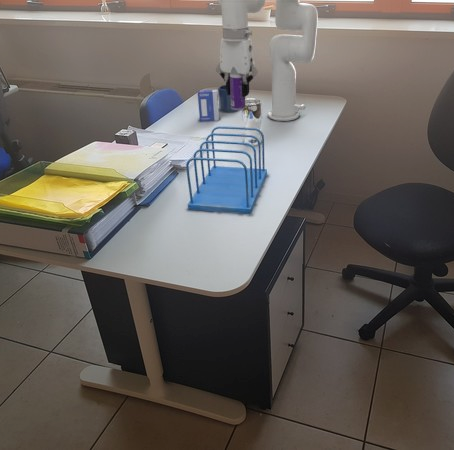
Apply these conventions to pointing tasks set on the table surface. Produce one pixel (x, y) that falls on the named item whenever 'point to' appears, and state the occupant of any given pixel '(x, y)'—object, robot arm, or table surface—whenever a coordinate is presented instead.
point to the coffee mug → (224, 100)
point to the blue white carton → (208, 105)
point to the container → (236, 90)
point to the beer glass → (252, 119)
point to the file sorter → (227, 179)
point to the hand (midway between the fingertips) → (237, 94)
